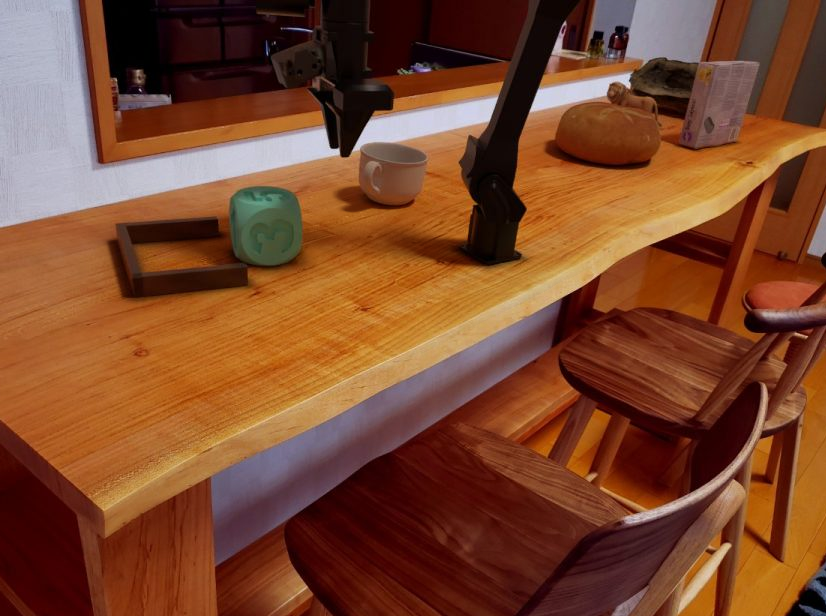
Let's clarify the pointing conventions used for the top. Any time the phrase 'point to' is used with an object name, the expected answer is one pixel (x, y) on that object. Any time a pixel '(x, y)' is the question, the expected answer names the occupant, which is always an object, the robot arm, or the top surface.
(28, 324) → the top surface
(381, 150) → the teacup
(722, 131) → the cake pan box
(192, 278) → the walnut frame
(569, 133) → the bread
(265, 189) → the decorative dice
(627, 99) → the lion figurine
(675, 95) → the hollow geode rock
